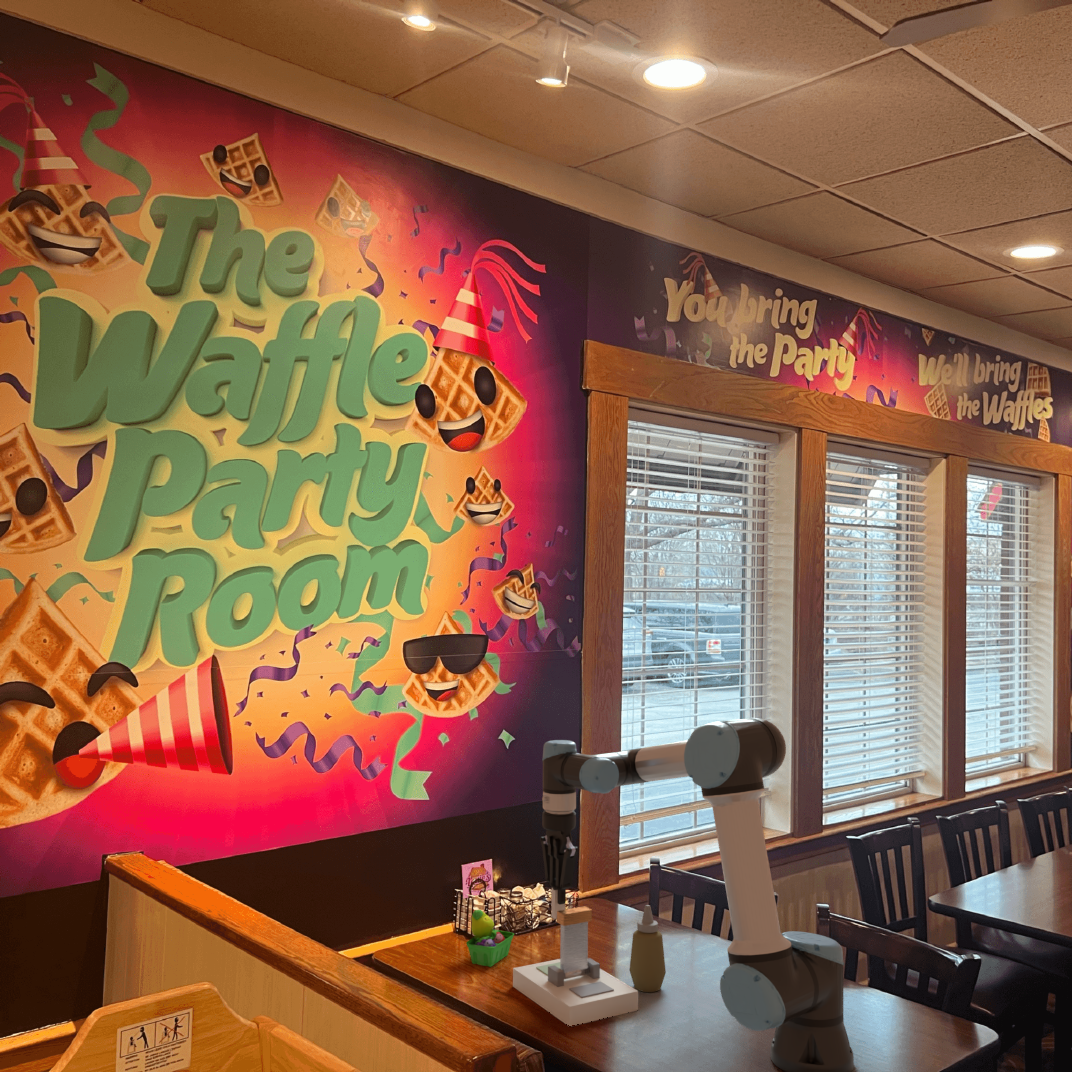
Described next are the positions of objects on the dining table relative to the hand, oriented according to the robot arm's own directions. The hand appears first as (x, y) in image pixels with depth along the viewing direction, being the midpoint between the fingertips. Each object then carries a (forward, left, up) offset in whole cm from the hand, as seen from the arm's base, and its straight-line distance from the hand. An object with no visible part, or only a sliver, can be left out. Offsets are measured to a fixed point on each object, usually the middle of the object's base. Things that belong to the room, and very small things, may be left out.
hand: (558, 917), depth 228 cm
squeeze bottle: (-10, -17, -16) cm, 25 cm away
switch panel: (-7, 0, -15) cm, 17 cm away
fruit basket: (+23, +6, -16) cm, 29 cm away
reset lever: (-7, 0, -10) cm, 12 cm away
